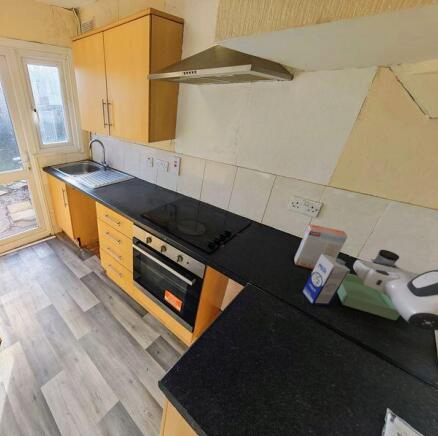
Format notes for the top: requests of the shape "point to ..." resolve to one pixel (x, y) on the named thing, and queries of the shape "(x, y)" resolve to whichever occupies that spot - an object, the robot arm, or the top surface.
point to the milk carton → (325, 280)
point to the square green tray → (366, 298)
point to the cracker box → (319, 245)
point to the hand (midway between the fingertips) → (381, 263)
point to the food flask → (386, 258)
